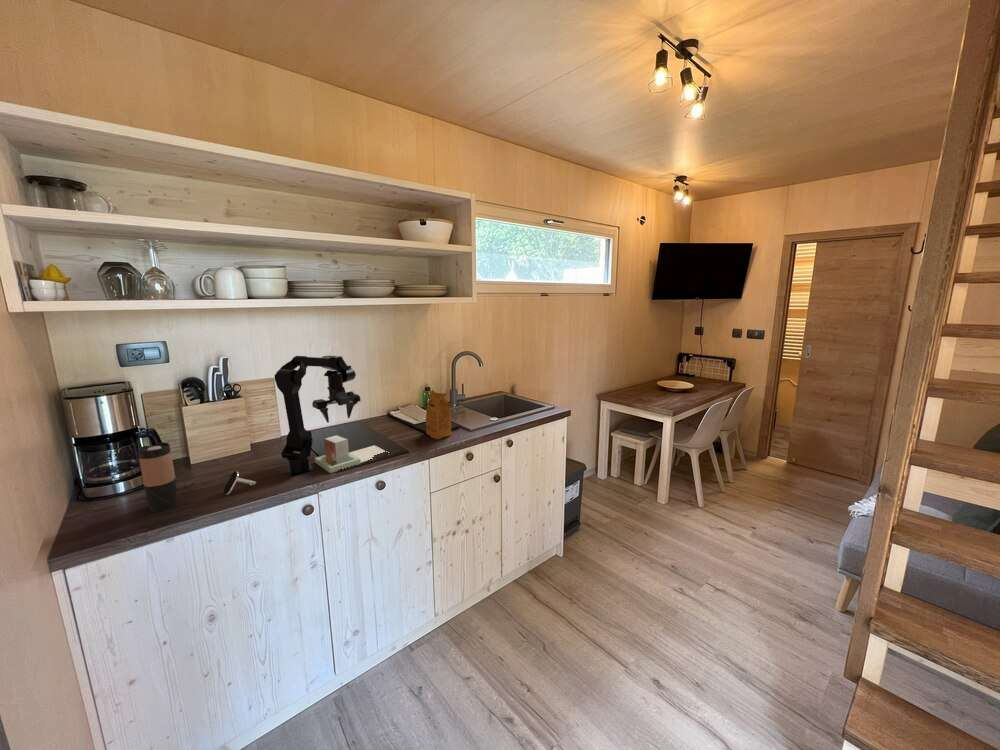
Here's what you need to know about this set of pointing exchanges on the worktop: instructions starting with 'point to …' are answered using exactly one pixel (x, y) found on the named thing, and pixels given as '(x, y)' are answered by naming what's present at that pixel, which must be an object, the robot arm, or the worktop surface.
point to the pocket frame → (322, 462)
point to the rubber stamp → (233, 480)
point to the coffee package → (438, 416)
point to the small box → (336, 450)
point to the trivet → (367, 453)
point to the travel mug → (158, 476)
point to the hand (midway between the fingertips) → (338, 420)
